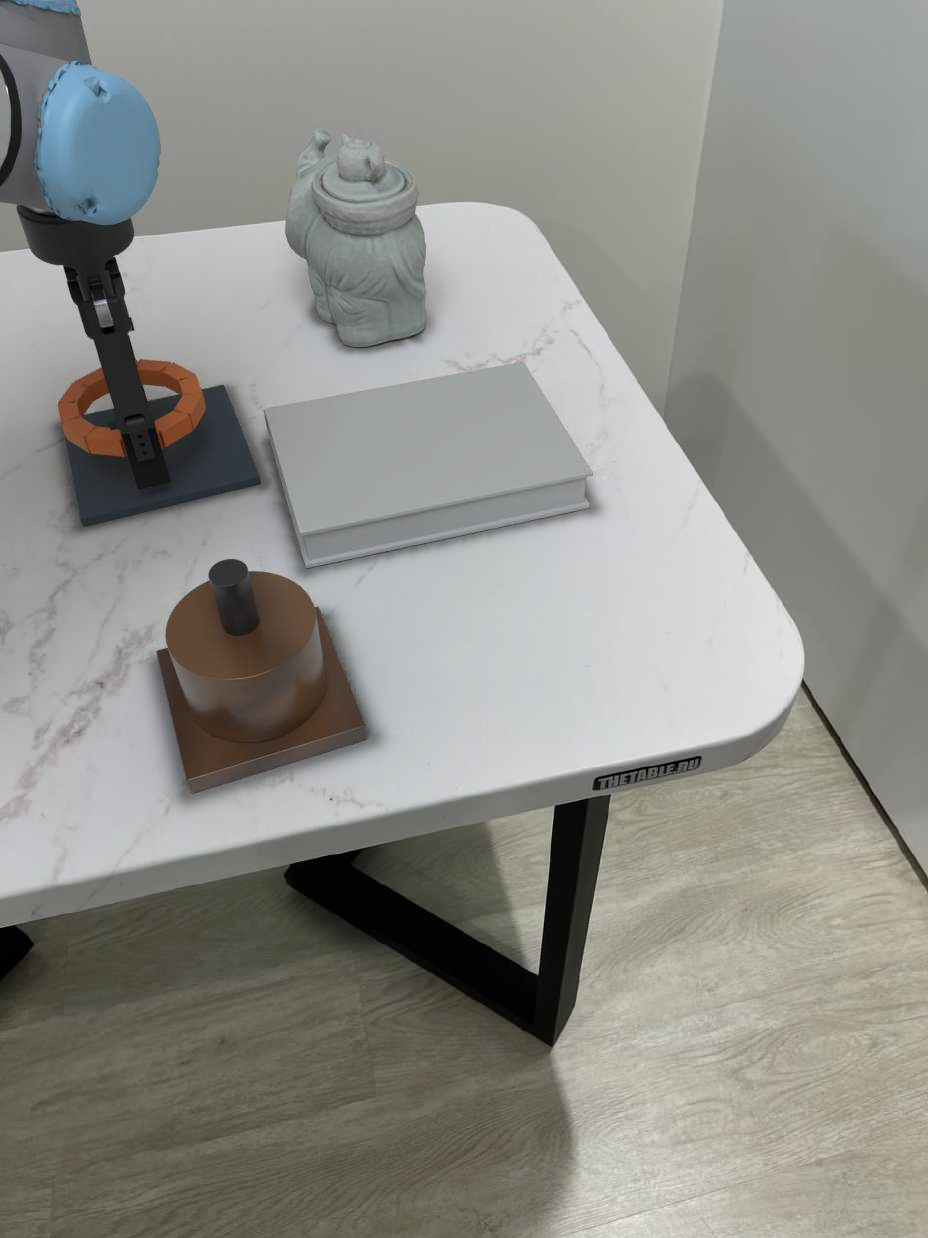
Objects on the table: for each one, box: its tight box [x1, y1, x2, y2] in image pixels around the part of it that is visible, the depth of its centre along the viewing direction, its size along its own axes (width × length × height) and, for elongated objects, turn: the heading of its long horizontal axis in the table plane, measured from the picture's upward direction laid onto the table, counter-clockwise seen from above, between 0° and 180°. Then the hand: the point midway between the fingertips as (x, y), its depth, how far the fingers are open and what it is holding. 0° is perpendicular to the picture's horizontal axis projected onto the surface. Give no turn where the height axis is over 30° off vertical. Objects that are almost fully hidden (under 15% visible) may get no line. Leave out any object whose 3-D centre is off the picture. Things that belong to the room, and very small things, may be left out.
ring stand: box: [155, 558, 368, 794], centre depth 66 cm, size 12×12×12 cm
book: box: [263, 361, 594, 569], centre depth 87 cm, size 18×4×24 cm
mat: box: [64, 384, 262, 527], centre depth 90 cm, size 15×15×1 cm
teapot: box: [284, 127, 427, 348], centre depth 100 cm, size 16×15×19 cm
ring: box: [57, 358, 206, 457], centre depth 85 cm, size 12×12×2 cm
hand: (142, 442), depth 88 cm, fingers closed on ring, 11 cm apart
